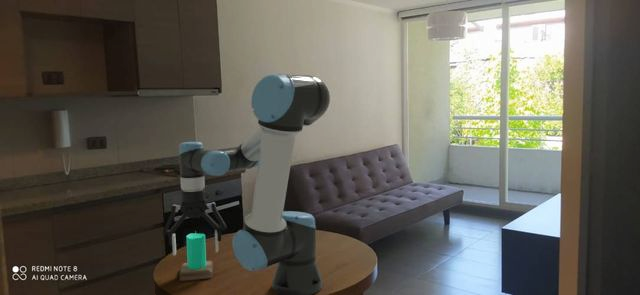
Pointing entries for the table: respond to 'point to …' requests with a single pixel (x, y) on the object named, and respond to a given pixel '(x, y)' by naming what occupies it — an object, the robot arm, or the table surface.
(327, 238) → the table surface
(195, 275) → the stand
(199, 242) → the candle
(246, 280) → the table surface
